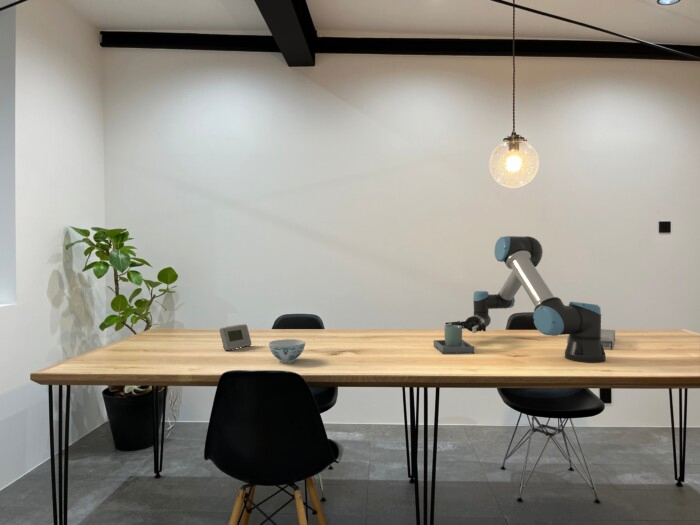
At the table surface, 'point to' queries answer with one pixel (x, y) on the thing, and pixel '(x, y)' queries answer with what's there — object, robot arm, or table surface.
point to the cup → (453, 335)
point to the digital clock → (235, 336)
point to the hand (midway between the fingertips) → (459, 329)
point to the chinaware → (287, 349)
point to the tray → (453, 348)
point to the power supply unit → (605, 339)
